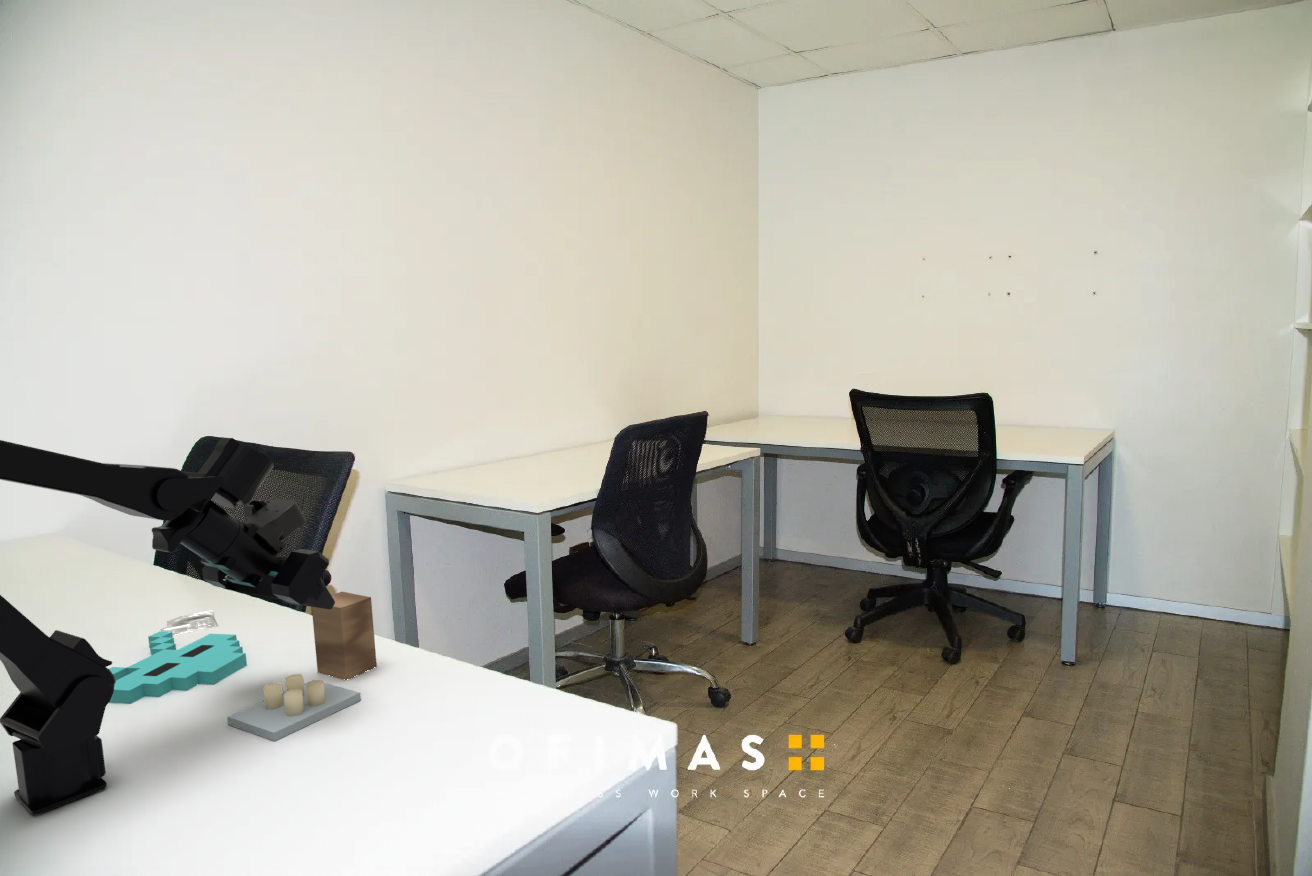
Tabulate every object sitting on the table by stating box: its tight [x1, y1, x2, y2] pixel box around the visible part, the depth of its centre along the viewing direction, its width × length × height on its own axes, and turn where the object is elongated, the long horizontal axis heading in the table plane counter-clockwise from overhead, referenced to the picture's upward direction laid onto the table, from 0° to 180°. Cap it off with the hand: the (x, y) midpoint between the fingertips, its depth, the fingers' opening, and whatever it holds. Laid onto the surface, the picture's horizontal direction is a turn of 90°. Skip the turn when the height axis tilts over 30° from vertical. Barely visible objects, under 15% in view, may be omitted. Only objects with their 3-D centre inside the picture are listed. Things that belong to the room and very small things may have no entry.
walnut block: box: [311, 591, 378, 681], centre depth 116 cm, size 5×6×10 cm
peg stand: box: [226, 673, 362, 742], centre depth 104 cm, size 12×9×4 cm
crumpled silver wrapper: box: [159, 609, 219, 636], centre depth 138 cm, size 8×7×2 cm
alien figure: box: [108, 630, 248, 705], centre depth 119 cm, size 20×2×20 cm
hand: (309, 601), depth 112 cm, fingers open, 9 cm apart
